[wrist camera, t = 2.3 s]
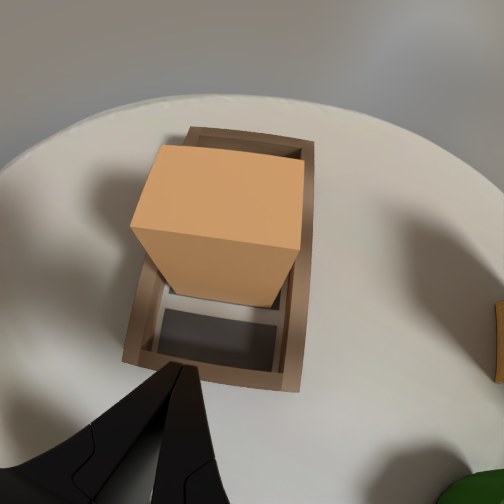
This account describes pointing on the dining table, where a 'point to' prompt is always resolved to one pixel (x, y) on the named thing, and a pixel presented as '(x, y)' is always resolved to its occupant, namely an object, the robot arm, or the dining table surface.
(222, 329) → the tray
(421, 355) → the dining table surface
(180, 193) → the block
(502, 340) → the small box
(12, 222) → the dining table surface
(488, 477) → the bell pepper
